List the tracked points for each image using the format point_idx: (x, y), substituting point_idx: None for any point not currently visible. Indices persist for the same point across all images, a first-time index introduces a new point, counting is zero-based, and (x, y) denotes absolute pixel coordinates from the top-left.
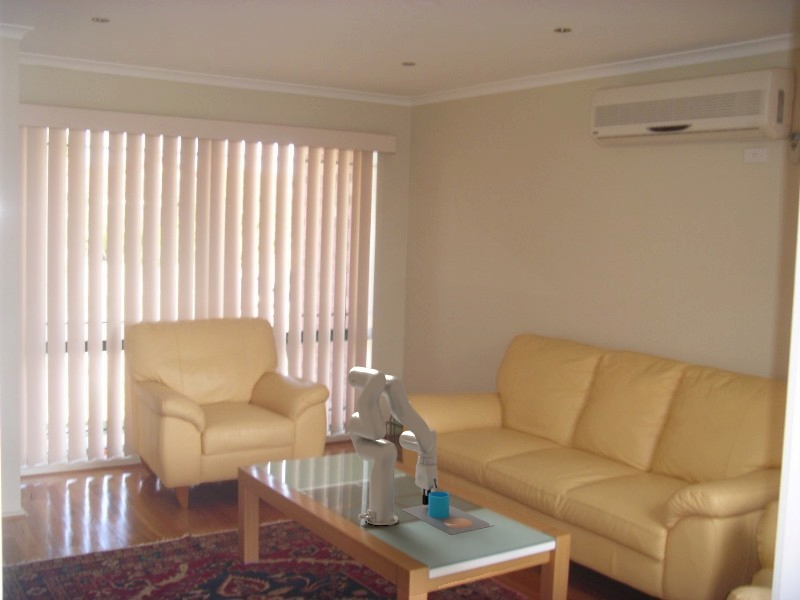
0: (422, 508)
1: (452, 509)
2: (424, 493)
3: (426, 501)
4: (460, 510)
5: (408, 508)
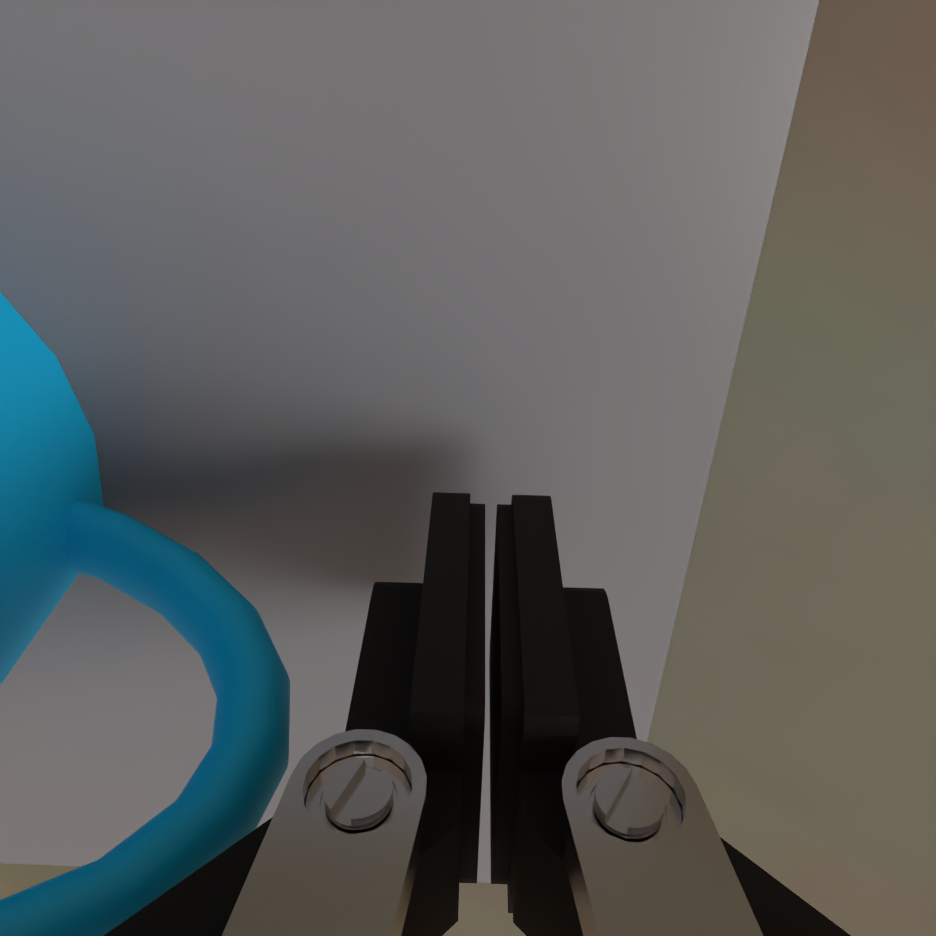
0: (472, 396)
1: (110, 800)
2: (545, 814)
3: (417, 602)
4: (10, 853)
5: (744, 20)
